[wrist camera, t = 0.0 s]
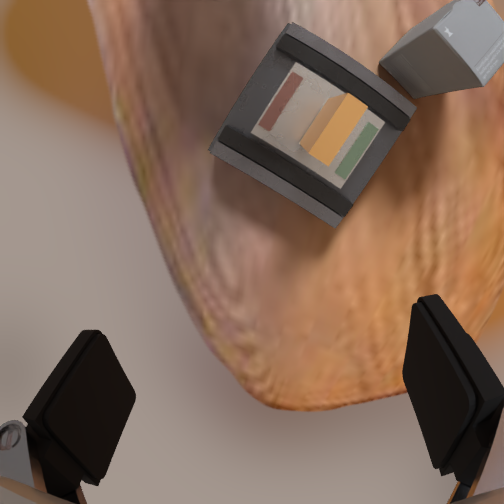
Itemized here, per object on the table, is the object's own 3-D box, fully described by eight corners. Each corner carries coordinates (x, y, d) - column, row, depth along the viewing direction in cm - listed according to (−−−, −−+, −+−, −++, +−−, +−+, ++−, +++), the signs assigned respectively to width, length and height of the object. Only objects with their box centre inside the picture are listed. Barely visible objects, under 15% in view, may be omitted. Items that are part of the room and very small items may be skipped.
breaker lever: (327, 98, 26) (349, 91, 18) (342, 107, 26) (368, 105, 19) (298, 143, 28) (307, 154, 20) (312, 153, 28) (327, 167, 21)
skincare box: (412, 100, 32) (486, 99, 18) (371, 57, 31) (430, 28, 16) (448, 61, 29) (526, 48, 15) (410, 20, 28) (477, -17, 13)
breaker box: (286, 34, 30) (289, 13, 23) (399, 109, 33) (428, 110, 25) (216, 145, 37) (201, 153, 29) (329, 213, 39) (341, 238, 32)
